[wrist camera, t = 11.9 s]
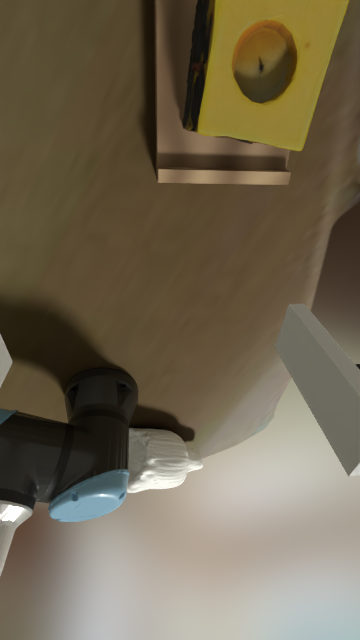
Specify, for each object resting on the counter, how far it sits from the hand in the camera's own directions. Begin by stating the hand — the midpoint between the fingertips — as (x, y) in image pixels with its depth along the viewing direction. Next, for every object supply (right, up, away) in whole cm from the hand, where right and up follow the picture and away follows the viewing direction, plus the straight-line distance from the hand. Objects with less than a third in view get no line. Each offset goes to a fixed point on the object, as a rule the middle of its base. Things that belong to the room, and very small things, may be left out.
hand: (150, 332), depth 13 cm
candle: (+7, +26, +17) cm, 31 cm away
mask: (-4, -30, +63) cm, 70 cm away
